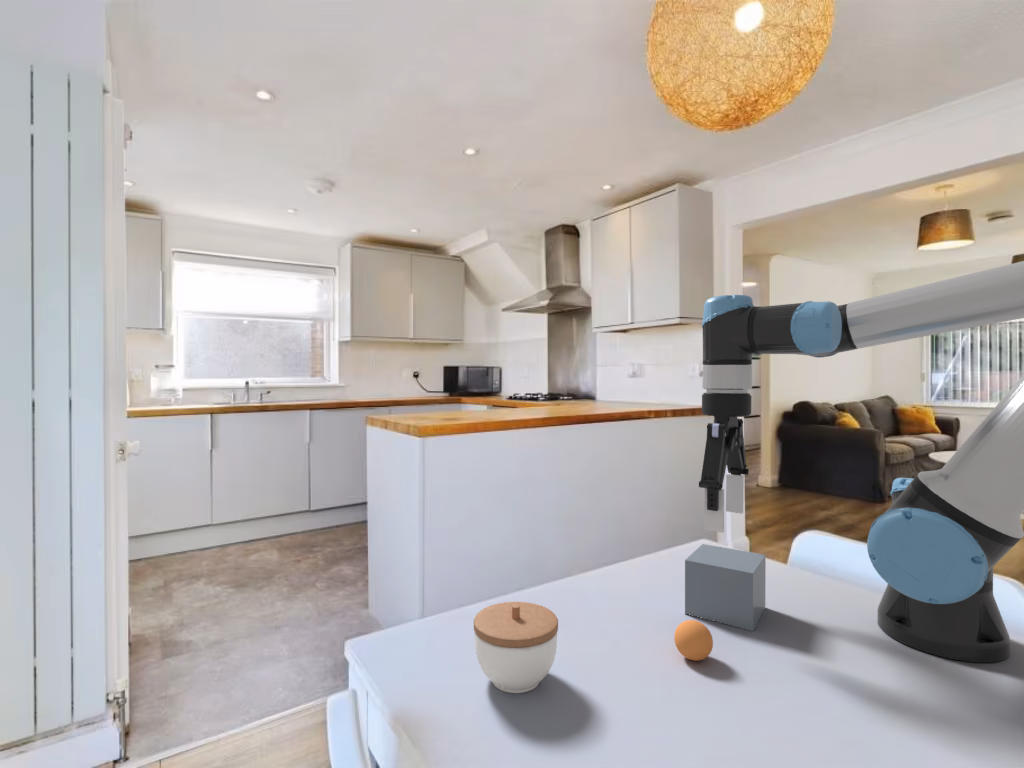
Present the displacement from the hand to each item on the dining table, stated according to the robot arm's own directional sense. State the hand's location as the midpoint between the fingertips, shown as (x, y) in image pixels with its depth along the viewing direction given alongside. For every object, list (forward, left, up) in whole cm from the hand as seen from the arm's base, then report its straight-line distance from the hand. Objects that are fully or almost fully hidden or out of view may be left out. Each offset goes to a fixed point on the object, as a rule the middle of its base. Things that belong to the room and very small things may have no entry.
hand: (724, 521), depth 87 cm
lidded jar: (+17, +36, -15) cm, 42 cm away
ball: (0, +18, -12) cm, 22 cm away
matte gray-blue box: (0, 0, -15) cm, 15 cm away
